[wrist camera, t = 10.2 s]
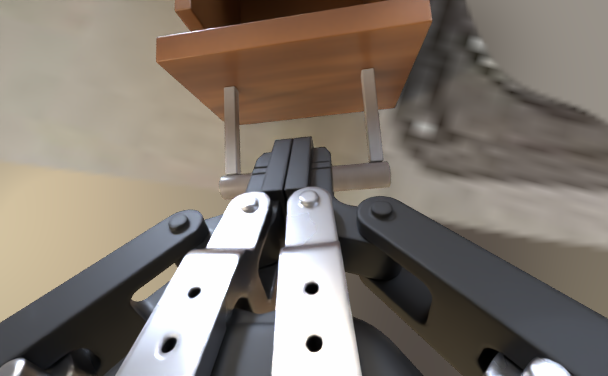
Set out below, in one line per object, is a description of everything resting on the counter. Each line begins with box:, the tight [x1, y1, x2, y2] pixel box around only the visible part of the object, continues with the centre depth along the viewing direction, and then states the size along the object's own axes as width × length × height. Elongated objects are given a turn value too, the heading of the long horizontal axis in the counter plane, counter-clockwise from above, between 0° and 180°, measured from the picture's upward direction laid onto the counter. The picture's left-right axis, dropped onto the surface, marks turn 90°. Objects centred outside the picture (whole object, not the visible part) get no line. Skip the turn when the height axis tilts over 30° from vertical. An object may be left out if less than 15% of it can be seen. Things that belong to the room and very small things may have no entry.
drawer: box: [156, 0, 432, 200], centre depth 16 cm, size 19×11×8 cm, turn 3°
